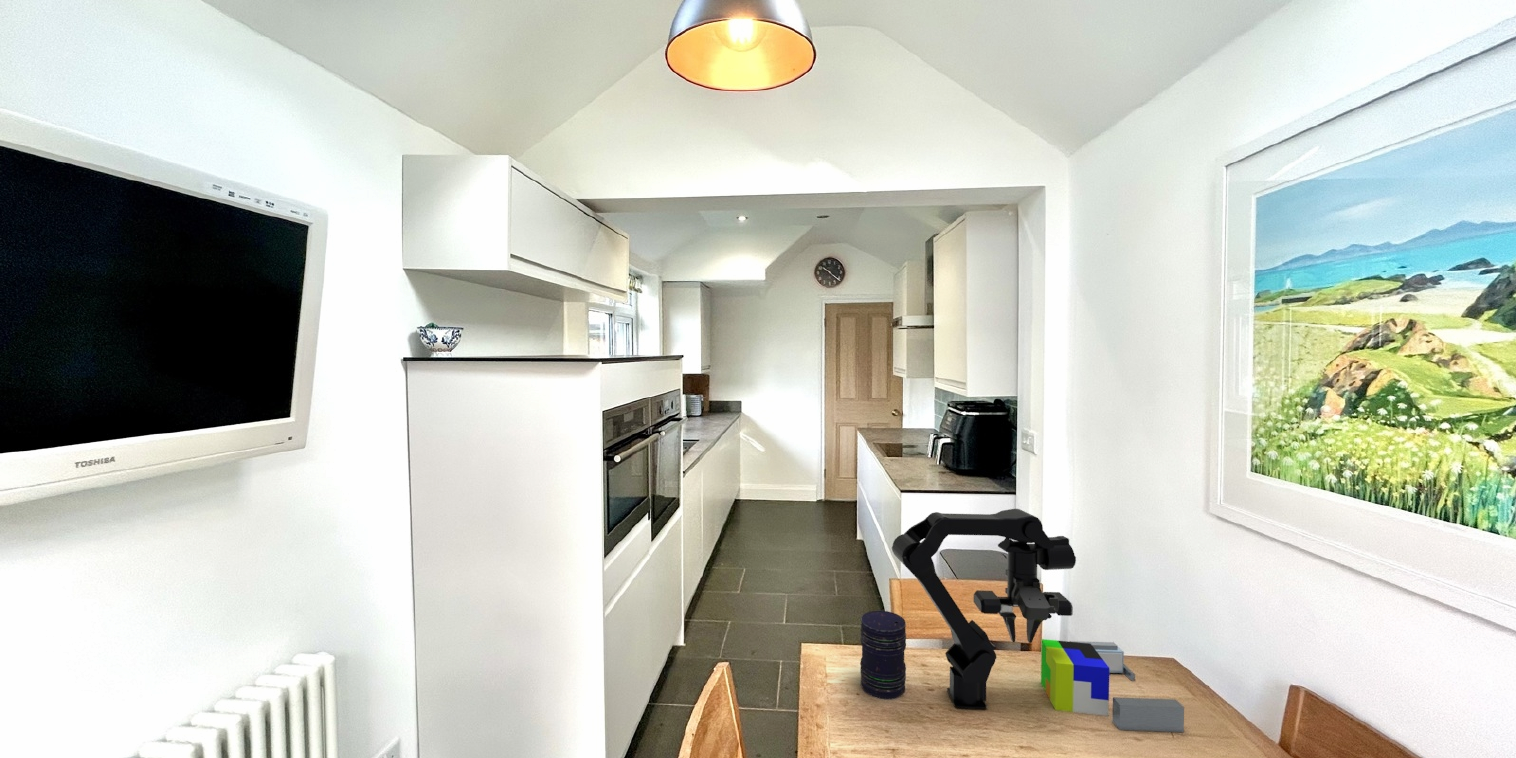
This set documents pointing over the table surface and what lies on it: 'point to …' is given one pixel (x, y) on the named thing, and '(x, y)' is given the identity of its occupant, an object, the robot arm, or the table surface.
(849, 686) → the table surface
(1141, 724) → the grey rail base
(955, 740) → the table surface
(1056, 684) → the puzzle toy
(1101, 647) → the bar
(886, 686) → the storage jar
